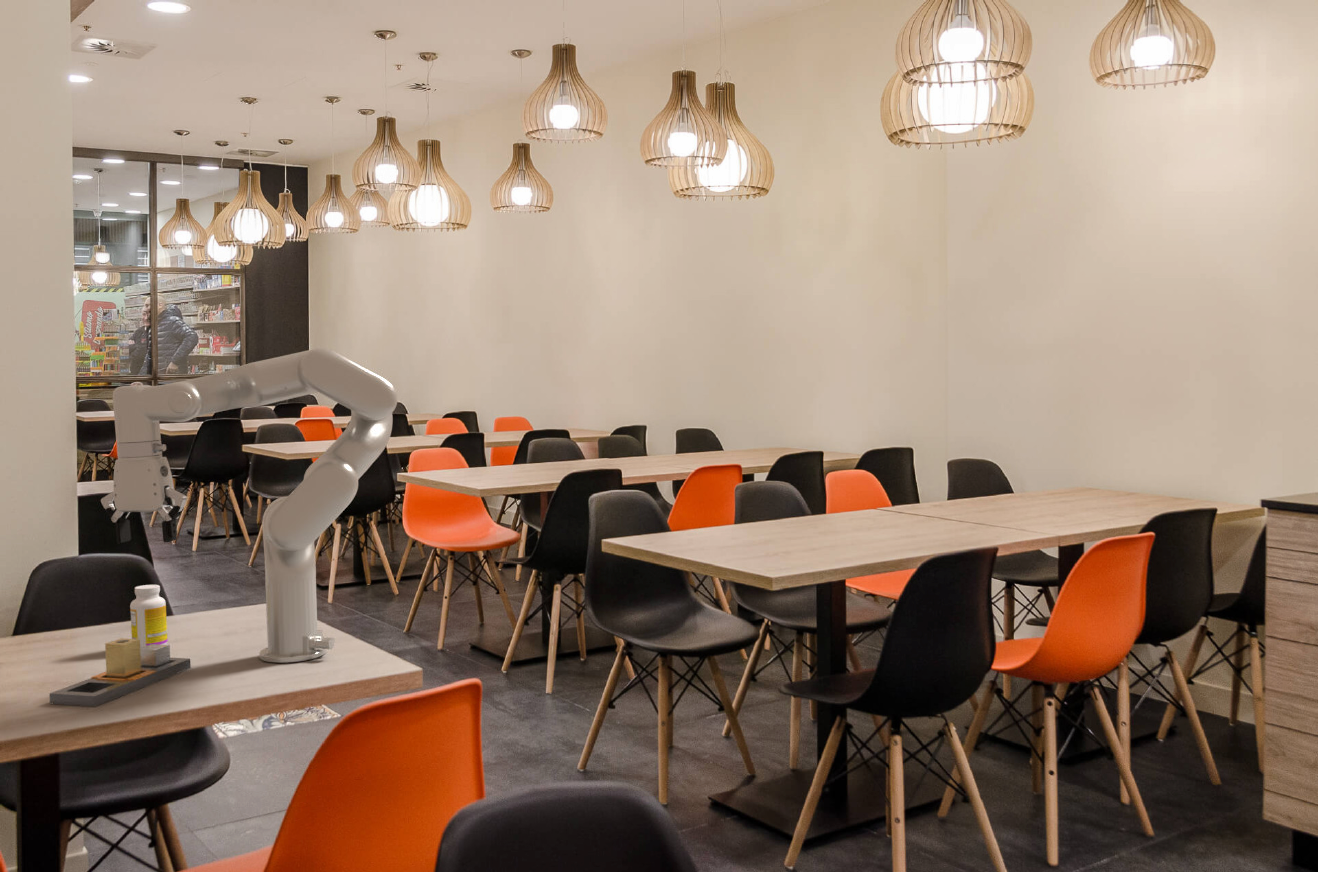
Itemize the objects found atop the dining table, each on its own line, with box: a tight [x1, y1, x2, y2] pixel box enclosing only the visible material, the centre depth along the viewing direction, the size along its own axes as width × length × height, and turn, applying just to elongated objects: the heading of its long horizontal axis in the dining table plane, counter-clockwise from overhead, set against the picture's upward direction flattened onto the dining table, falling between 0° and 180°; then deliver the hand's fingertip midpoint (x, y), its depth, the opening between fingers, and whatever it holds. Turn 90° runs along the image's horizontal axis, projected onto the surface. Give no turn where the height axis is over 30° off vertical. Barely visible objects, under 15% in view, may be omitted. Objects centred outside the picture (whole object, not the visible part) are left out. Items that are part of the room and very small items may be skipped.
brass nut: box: [104, 637, 141, 679], centre depth 198 cm, size 4×4×8 cm
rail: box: [49, 657, 192, 708], centre depth 198 cm, size 9×25×2 cm, turn 167°
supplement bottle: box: [129, 584, 169, 648], centre depth 225 cm, size 7×7×13 cm
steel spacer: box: [140, 644, 171, 668], centre depth 205 cm, size 4×4×5 cm
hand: (147, 541), depth 206 cm, fingers open, 9 cm apart
